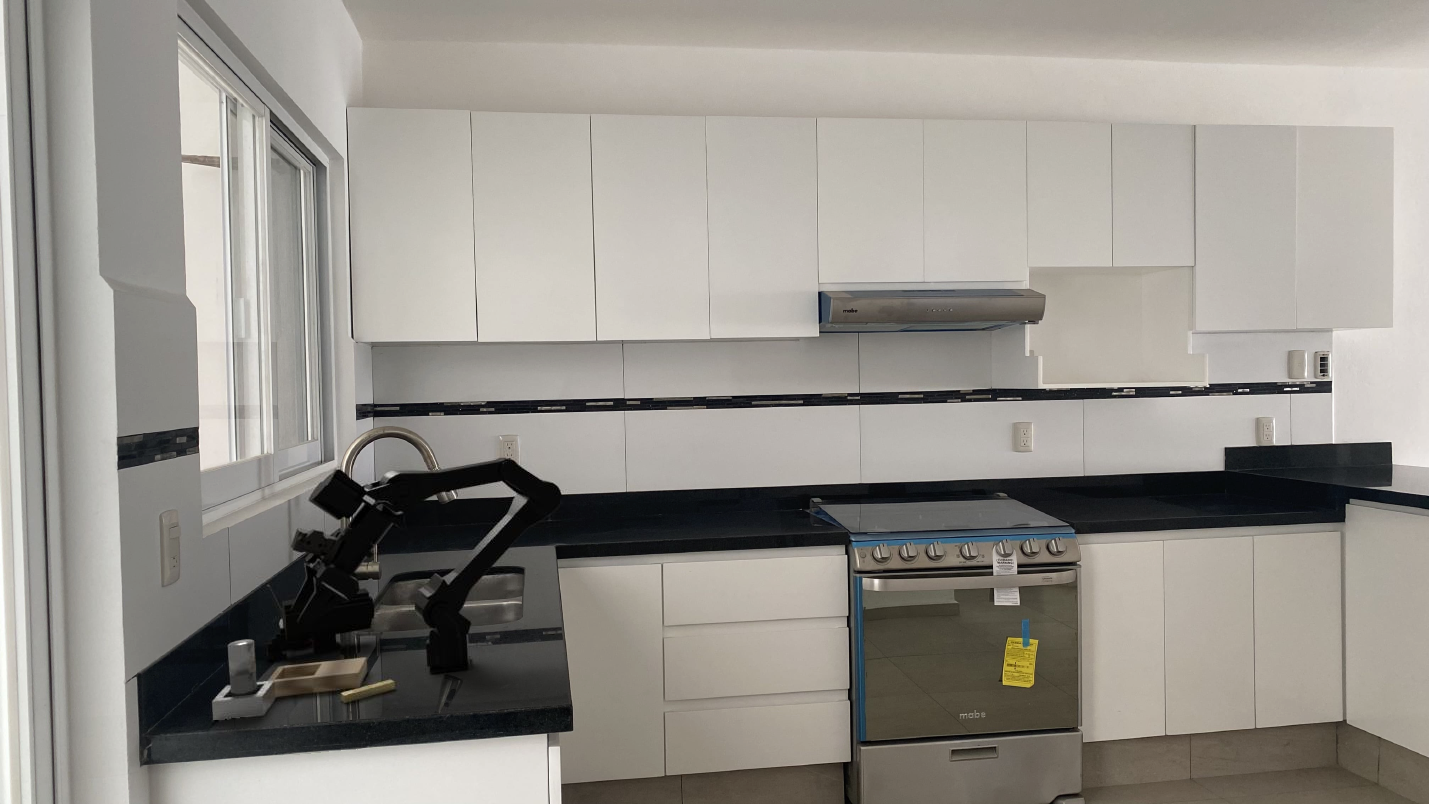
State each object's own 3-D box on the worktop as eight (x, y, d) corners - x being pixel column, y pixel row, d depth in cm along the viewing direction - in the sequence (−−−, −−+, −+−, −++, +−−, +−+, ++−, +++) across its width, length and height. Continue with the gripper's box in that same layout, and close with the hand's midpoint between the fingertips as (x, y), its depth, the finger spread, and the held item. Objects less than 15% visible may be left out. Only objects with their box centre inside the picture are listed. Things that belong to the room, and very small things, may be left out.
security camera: (266, 655, 167) (262, 602, 167) (371, 636, 176) (368, 586, 176) (269, 665, 161) (265, 610, 161) (377, 645, 170) (374, 593, 170)
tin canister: (261, 704, 142) (256, 638, 142) (254, 712, 138) (250, 645, 138) (236, 706, 141) (231, 641, 141) (229, 715, 138) (224, 647, 137)
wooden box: (367, 671, 155) (366, 657, 155) (359, 687, 148) (358, 672, 148) (279, 681, 152) (278, 666, 152) (267, 697, 145) (266, 682, 145)
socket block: (275, 698, 144) (274, 680, 144) (263, 715, 137) (262, 695, 137) (227, 704, 142) (226, 685, 142) (213, 721, 136) (212, 701, 136)
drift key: (390, 686, 147) (390, 679, 147) (394, 688, 146) (394, 681, 146) (341, 700, 142) (340, 693, 142) (344, 703, 141) (344, 695, 141)
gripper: (312, 501, 153) (248, 579, 149) (327, 515, 137) (256, 603, 133) (366, 538, 158) (306, 614, 153) (387, 555, 142) (320, 641, 137)
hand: (296, 617), depth 144 cm, fingers open, 9 cm apart
